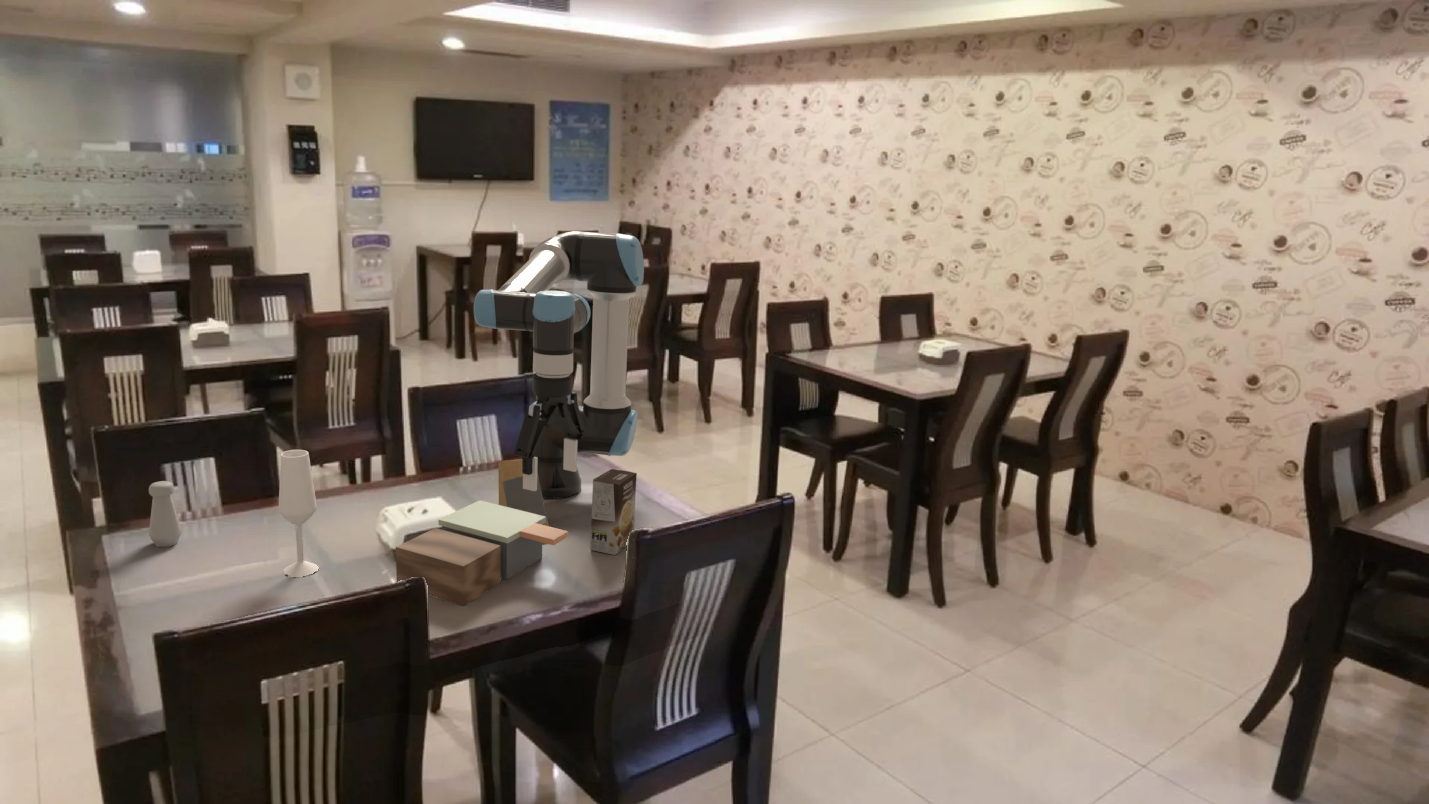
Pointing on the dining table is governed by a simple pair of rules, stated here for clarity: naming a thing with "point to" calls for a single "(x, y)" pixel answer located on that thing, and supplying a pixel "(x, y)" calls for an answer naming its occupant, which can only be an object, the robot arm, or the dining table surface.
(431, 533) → the stand
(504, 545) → the tub
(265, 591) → the dining table surface
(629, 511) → the coffee box
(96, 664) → the dining table surface
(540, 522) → the lid
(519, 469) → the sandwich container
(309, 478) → the champagne flute
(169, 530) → the salt shaker
